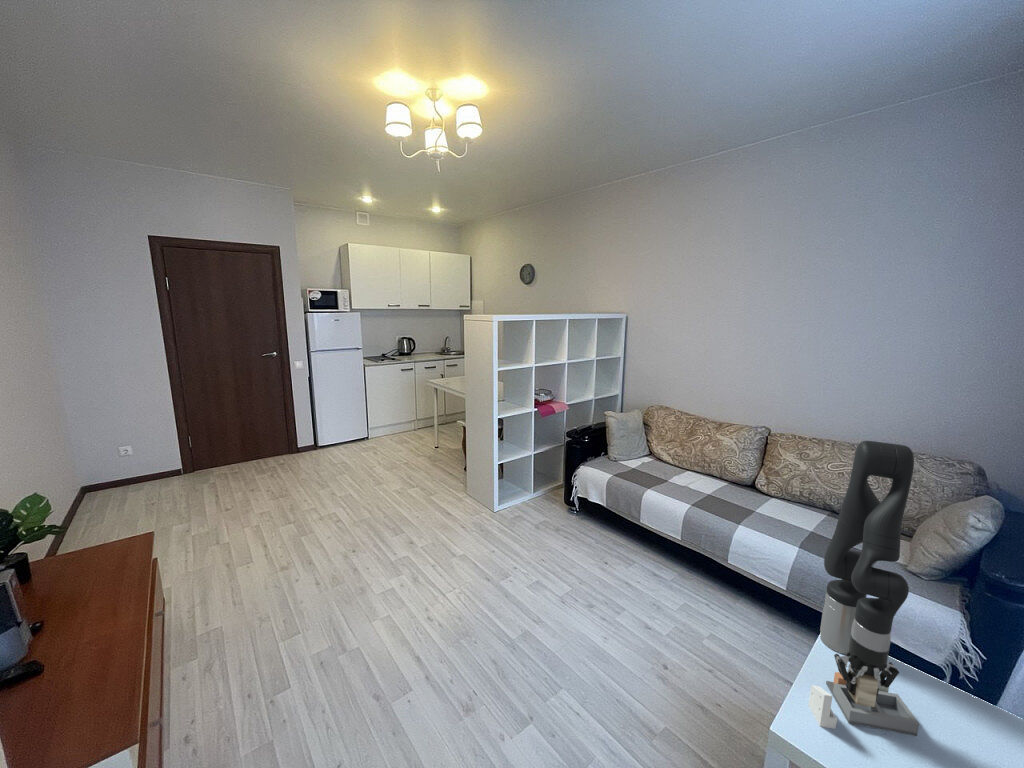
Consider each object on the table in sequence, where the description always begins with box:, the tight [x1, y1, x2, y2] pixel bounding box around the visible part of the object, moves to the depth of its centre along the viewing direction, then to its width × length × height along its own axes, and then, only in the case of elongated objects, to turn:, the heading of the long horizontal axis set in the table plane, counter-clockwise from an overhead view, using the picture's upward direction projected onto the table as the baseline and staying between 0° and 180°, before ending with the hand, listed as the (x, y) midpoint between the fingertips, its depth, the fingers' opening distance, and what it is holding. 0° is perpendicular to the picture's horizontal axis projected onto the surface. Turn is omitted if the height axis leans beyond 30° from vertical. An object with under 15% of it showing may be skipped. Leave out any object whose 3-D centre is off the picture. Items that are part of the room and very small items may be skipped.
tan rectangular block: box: [849, 674, 879, 707], centre depth 106 cm, size 4×4×8 cm
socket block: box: [825, 671, 920, 737], centre depth 108 cm, size 12×15×5 cm
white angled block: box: [808, 684, 838, 730], centre depth 105 cm, size 4×10×9 cm, turn 168°
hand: (860, 693), depth 106 cm, fingers closed on tan rectangular block, 4 cm apart
